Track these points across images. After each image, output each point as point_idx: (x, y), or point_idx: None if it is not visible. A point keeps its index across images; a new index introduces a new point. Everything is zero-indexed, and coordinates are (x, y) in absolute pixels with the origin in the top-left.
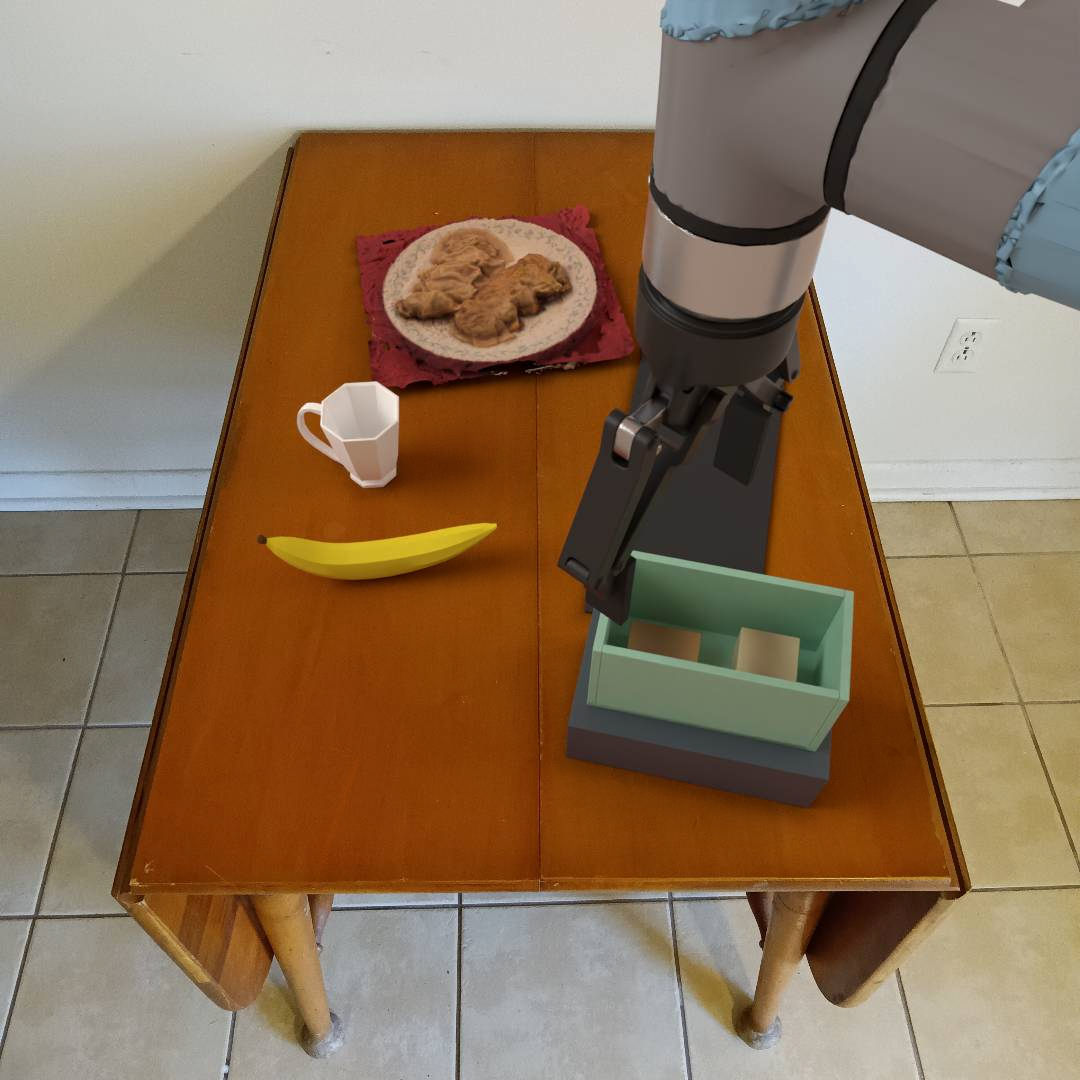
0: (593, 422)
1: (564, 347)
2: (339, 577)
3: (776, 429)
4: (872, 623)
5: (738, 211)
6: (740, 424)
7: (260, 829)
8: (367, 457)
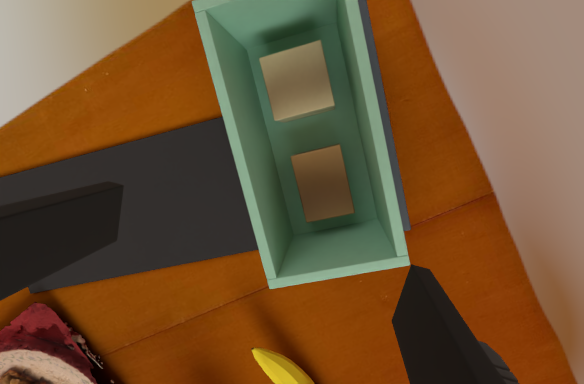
0: (118, 301)
1: (65, 353)
2: None
3: (46, 166)
4: (177, 27)
5: None
6: (9, 261)
7: (535, 381)
8: None
